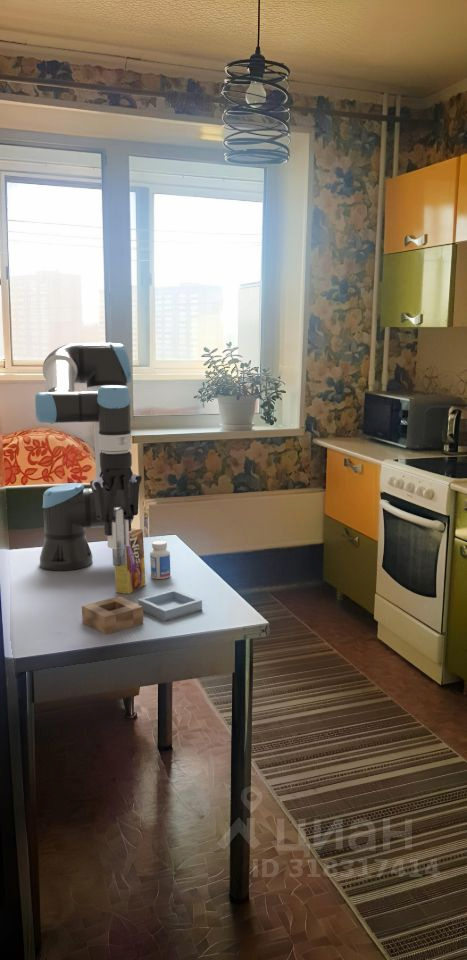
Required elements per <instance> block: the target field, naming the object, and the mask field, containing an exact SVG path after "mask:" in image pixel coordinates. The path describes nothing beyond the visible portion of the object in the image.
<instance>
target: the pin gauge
mask: <svg viewBox="0 0 467 960" xmlns="http://www.w3.org/2000/svg"><path fill="white" fill-rule="evenodd" d="M112 522H116V548H117V549H112V548H111V550H112V565H113V566H114V567H115V566H123V565H125V536H124V508H122V507H115V508H114V513H113V521H112Z"/></svg>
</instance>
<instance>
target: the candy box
mask: <svg viewBox="0 0 467 960" xmlns="http://www.w3.org/2000/svg"><path fill="white" fill-rule="evenodd" d="M143 531H144V530H143V529H141V528H131V531H129V546H125V565H123V566H114V577H115V592H116V593H118V594H124V595H125V594H126V595H130V594H131V593H133V592H135V591H136V590H138V589H140V588H142V587H143V586H145V585H146V568H145V567H146V566H145V565H146V563H145V551H144V550H145V549H144V547H145V546H144V532H143Z"/></svg>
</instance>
